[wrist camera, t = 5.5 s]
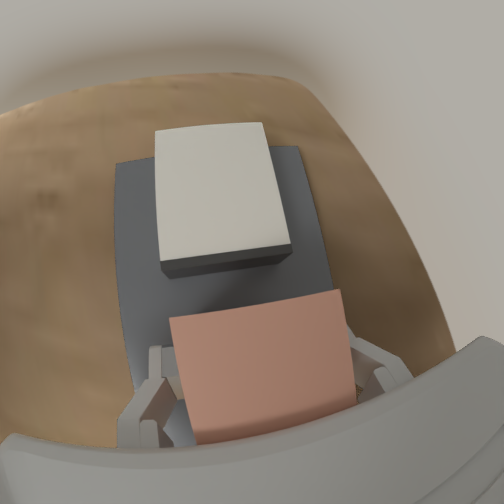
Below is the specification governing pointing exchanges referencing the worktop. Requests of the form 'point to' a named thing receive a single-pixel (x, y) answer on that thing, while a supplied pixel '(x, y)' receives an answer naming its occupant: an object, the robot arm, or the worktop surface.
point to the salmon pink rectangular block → (264, 366)
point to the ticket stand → (210, 236)
